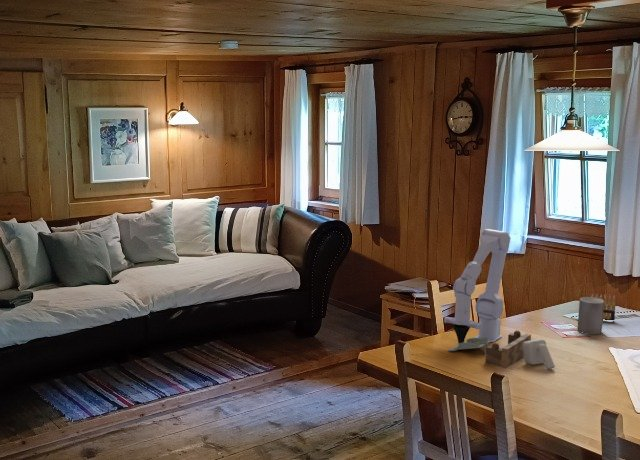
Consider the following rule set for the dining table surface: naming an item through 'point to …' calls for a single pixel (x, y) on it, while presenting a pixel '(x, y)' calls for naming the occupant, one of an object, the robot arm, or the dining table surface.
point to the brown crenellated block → (507, 350)
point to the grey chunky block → (537, 353)
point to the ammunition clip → (608, 307)
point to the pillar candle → (590, 315)
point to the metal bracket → (472, 344)
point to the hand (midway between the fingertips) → (461, 343)
